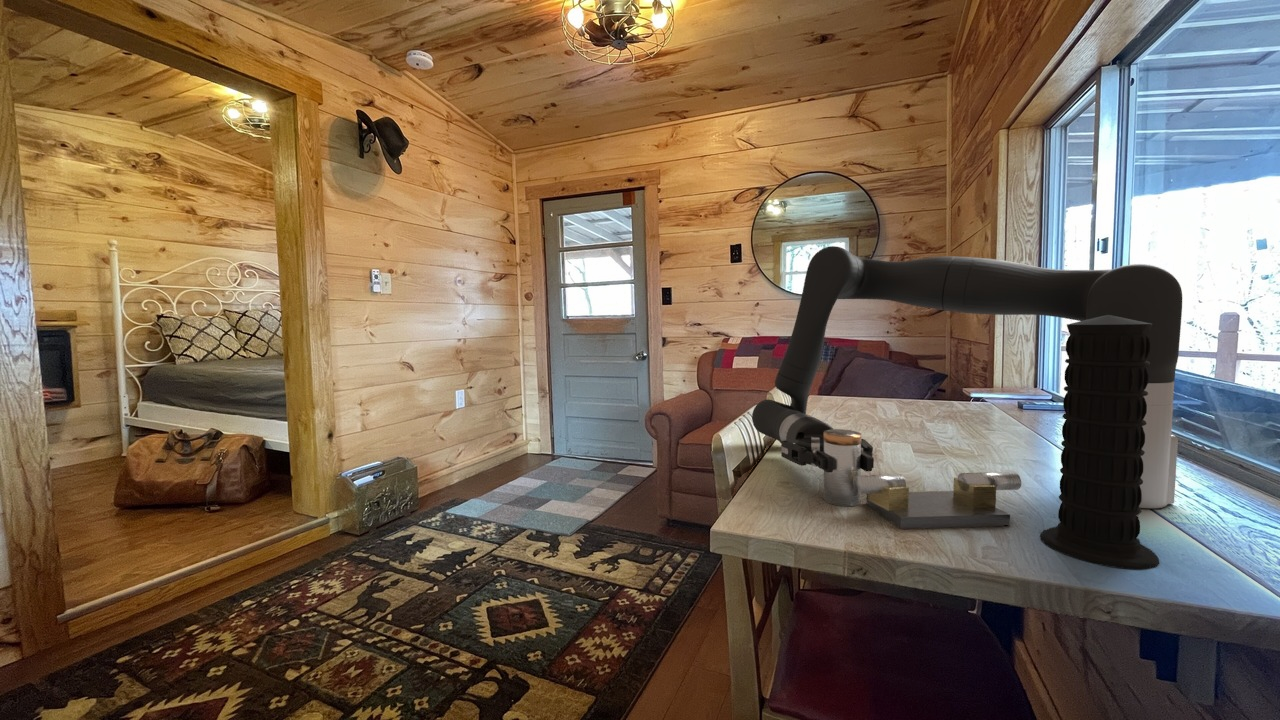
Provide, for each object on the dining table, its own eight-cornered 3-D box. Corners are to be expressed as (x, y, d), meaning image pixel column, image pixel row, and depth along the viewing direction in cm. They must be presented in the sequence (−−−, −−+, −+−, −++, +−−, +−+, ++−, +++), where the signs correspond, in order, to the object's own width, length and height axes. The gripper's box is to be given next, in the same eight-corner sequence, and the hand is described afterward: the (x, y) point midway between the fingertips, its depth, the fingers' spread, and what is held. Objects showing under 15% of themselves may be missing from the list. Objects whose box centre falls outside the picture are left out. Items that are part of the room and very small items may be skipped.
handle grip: (1188, 570, 51) (1107, 530, 61) (1205, 313, 49) (1118, 314, 59) (1083, 567, 52) (1020, 528, 62) (1095, 314, 50) (1028, 316, 60)
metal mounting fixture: (989, 500, 72) (990, 462, 72) (1040, 525, 63) (1042, 482, 63) (842, 503, 72) (842, 466, 71) (873, 529, 63) (873, 486, 62)
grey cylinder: (850, 493, 76) (851, 428, 75) (867, 505, 71) (868, 436, 70) (817, 494, 76) (818, 429, 75) (831, 507, 71) (832, 437, 70)
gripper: (766, 417, 87) (799, 440, 70) (847, 415, 87) (901, 437, 70) (766, 459, 87) (799, 492, 70) (847, 457, 87) (900, 489, 71)
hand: (850, 464), depth 70 cm, fingers closed on grey cylinder, 5 cm apart
